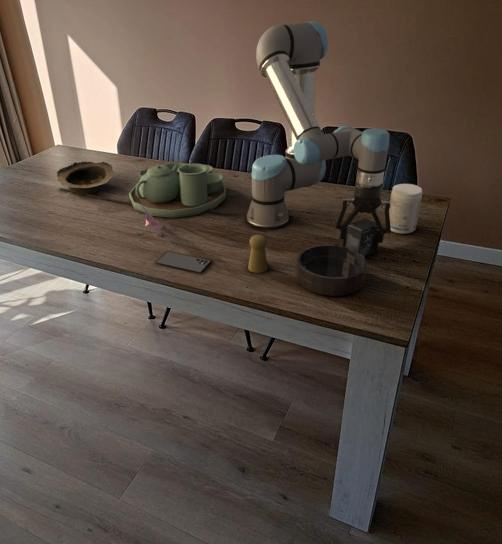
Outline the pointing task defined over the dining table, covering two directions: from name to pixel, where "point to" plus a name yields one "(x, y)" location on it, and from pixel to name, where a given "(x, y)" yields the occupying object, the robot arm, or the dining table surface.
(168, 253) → the smartphone
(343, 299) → the dining table surface
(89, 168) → the stone bowl
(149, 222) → the lily
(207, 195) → the tea set
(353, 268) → the bowl
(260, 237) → the cork
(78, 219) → the dining table surface
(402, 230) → the supplement tub
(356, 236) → the box
